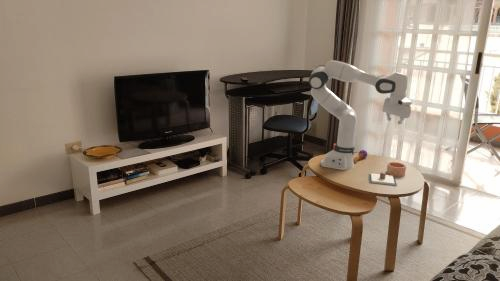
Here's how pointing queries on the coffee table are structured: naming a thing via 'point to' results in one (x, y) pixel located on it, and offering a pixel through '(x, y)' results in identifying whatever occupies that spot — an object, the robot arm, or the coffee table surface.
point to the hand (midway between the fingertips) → (394, 122)
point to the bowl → (396, 169)
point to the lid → (382, 178)
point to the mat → (382, 184)
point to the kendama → (360, 155)
